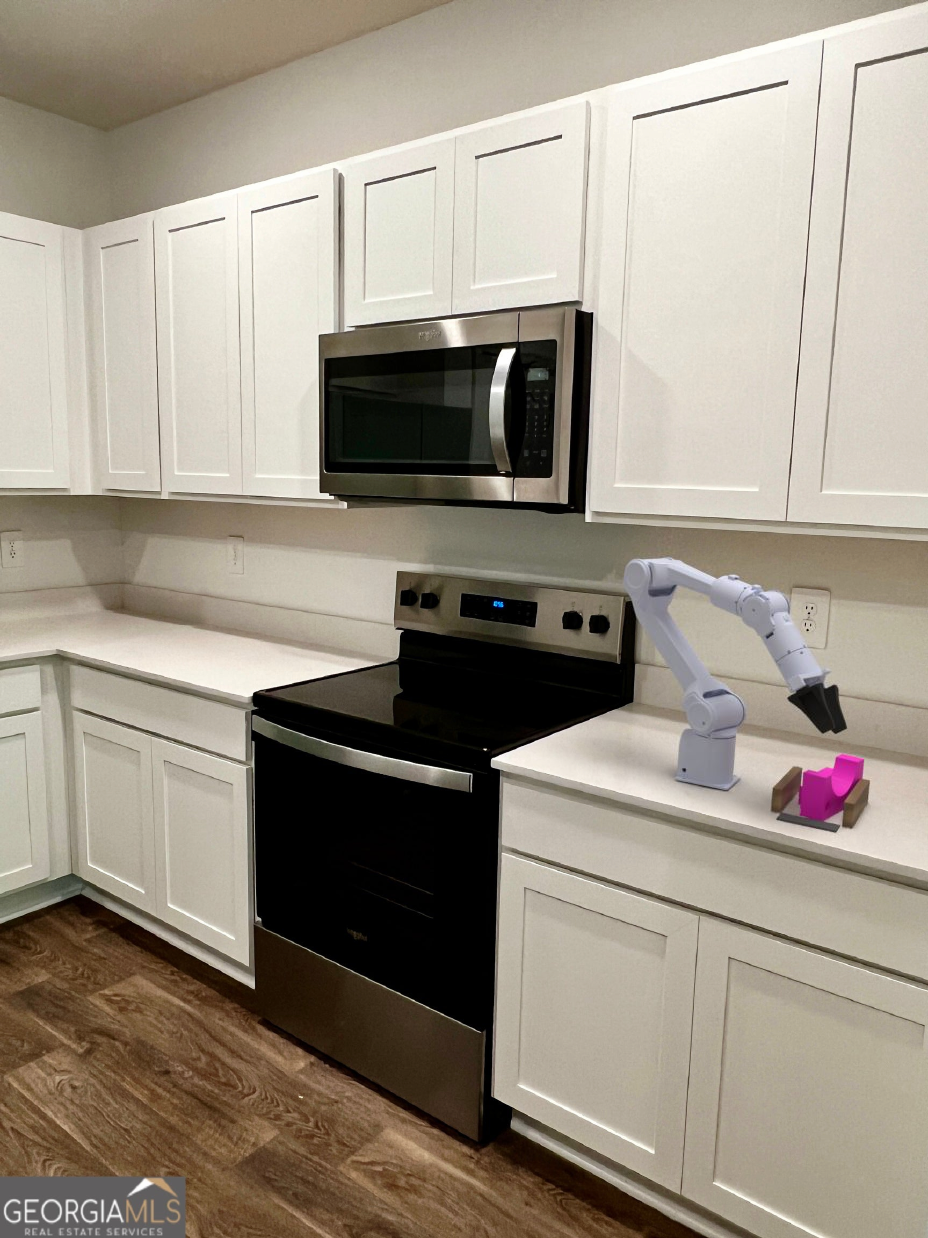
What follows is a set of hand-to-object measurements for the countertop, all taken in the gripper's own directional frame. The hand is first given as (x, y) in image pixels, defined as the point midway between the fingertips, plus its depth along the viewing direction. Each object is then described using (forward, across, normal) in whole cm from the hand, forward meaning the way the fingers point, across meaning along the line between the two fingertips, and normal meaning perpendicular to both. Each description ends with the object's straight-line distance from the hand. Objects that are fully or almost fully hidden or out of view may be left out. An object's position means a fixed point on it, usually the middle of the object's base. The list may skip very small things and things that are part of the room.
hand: (835, 731), depth 142 cm
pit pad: (+11, 0, +11) cm, 15 cm away
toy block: (+9, +10, +10) cm, 17 cm away
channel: (+9, +9, +10) cm, 16 cm away
